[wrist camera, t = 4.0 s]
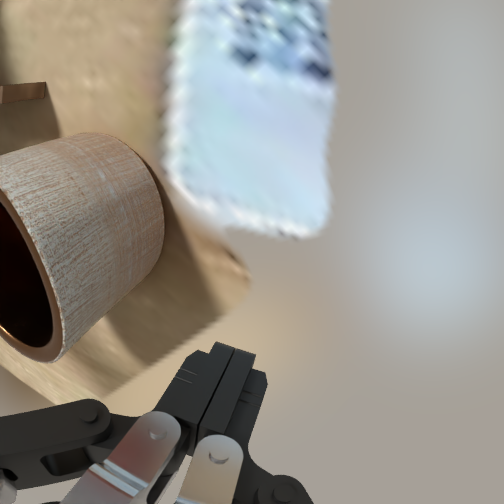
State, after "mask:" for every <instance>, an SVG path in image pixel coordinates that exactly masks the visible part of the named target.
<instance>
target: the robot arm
mask: <svg viewBox="0 0 504 504" xmlns="http://www.w3.org/2000/svg"><path fill="white" fill-rule="evenodd" d="M255 357H256V354H253V353H249V352H246V351H243V350H240V349H236V350H235V348H234V347H231V346H228V345H225V344H222V343H219V342H215V344H214V345H213V347H212V349H211V351H210V353H209V354H208V353H205V352H202V351H199V350H197V351H195V352H194V353H192V354H191V355H189V356H188V357H187V358H186V359H185V361H184V362H183V364H182V366H181V367H180V369H179V370H178V372H177V373H176V375H175V377H174V378H173V380H172V381H171V383H170V384H169V386H168V388H167V389H166V391H165V392H164V394H163V396H162V397H161V399H160V400H159V402H158V403H157V405H156V407H155V408H154V409H153V410H152V411H151V412H148V413H146V414H144V415H142V416H139V417H129V416H122V415H117V414H112V413H110V412H109V410H108V408H107V407H106V406H105V405H104V404H103V403H101V402H100V401H97V400H94V399H83V400H79V401H74V402H70V403H66V404H62V405H57V406H53V407H49V408H44V409H39V410H34V411H30V412H25V413H19V414H14V415H9V416H3V417H0V504H12V503H14V502H15V500H16V495H17V490H21V489H27V488H33V487H38V486H44V485H49V484H53V483H58V482H62V481H66V480H71V479H75V478H79V477H81V478H80V479H79V481H78V482H77V483H76V484H75V485H74V487H73V488H72V489H71V491H69V493H68V494H67V495H66V496H65V498H64V499H63V500H62V501H61V502H57V501H56V502H47V503H42V504H158V503H159V501H160V499H161V498H162V496H163V495H164V493H165V491H166V490H167V488H168V487H169V485H170V484H171V482H172V480H173V479H174V477H175V476H176V474H177V472H178V470H179V467H180V465H181V464H182V462H183V459H184V457H185V455H186V454H187V455H189V456H192V461H191V463H190V465H189V468H188V471H187V474H186V476H185V479H184V482H183V484H182V487H181V490H180V492H179V495H178V497H177V500H176V502H175V503H174V504H314V503H313V502H312V501H311V498H310V497H309V495H308V493H307V492H306V490H305V488H304V487H303V485H302V484H301V483H300V482H299V481H298V480H296V479H295V478H293V477H290V476H286V475H275V476H273V475H272V474H270V473H268V472H267V471H265V470H263V469H262V468H260V467H259V466H257V465H256V464H255V463H254V461H253V460H252V459H251V457H250V455H249V452H248V443H249V439H250V436H251V433H252V431H253V428H254V425H255V422H256V419H257V416H258V413H259V410H260V407H261V403H262V401H263V398H264V394H265V391H266V388H267V385H268V384H267V379H266V374H265V372H262V371H258V370H255V369H252V367H253V364H254V360H255Z"/></svg>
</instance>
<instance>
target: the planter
mask: <svg viewBox="0 0 504 504" xmlns="http://www.w3.org/2000/svg"><path fill="white" fill-rule="evenodd" d="M164 236H165V218H164V210H163V205H162V200H161V197H160V194H159V191H158V188H157V185H156V183H155V181H154V179H153V177H152V175H151V173H150V171H149V170H148V168H147V167H146V165H145V164H144V162H143V161H142V160H141V158H140V157H139V156H138V155H137V154H136V153H135V152H134V151H133V150H132V149H131V148H130V147H129V146H127V145H126V144H125V143H123V142H122V141H120V140H118V139H116V138H114V137H112V136H109V135H106V134H102V133H80V134H76V135H71V136H67V137H63V138H59V139H55V140H51V141H47V142H44V143H40V144H37V145H33V146H30V147H26V148H23V149H20V150H16V151H13V152H10V153H7V154H3V155H0V336H1V337H2V338H3V339H4V340H5V341H6V342H7V343H8V344H9V345H10V346H12V347H13V348H14V349H15V350H17V351H18V352H19V353H21V354H22V355H24V356H26V357H28V358H30V359H32V360H34V361H37V362H40V363H53V362H56V361H57V360H59V359H60V358H61V357H62V356H63V355H64V354H65V353H66V352H67V351H68V350H69V349H70V348H71V347H72V346H73V345H74V344H75V343H76V342H77V341H78V340H79V339H80V338H81V337H82V336H83V335H84V334H85V333H86V332H87V331H88V330H89V329H90V328H91V327H92V326H93V325H94V324H95V323H96V322H98V321H99V320H100V319H101V318H102V317H103V316H104V315H105V314H106V313H107V312H108V311H109V310H110V309H111V308H112V307H114V306H115V305H116V304H117V303H118V302H119V301H120V300H121V299H122V298H123V297H125V296H126V295H127V294H128V293H129V292H130V291H131V290H132V289H133V288H134V287H136V286H137V285H138V284H139V283H140V282H141V281H142V280H143V279H144V278H145V277H146V276H147V275H148V274H149V273H150V271H151V270H152V268H153V267H154V265H155V264H156V262H157V260H158V258H159V256H160V254H161V251H162V247H163V242H164Z"/></svg>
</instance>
